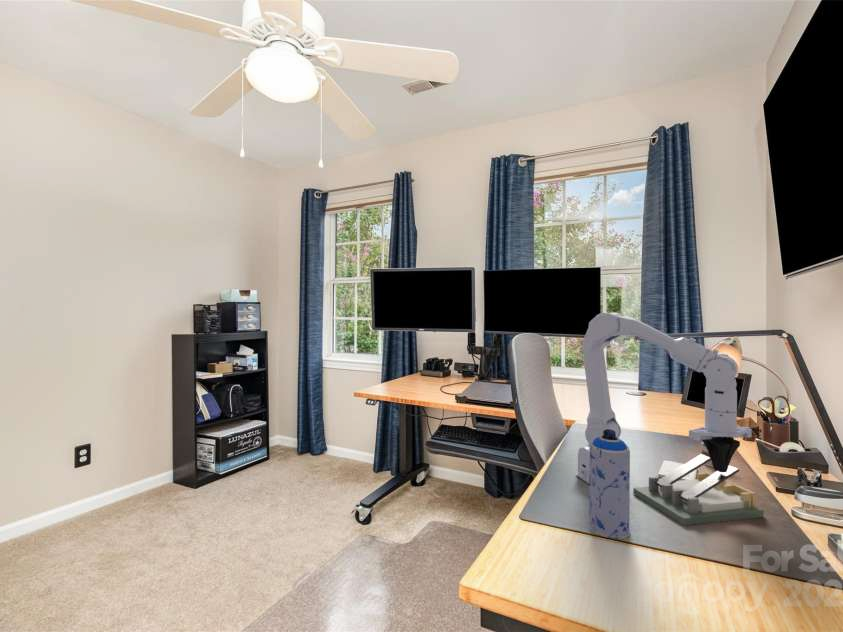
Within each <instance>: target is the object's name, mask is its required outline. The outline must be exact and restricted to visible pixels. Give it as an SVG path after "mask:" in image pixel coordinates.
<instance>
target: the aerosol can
mask: <svg viewBox="0 0 843 632" xmlns="http://www.w3.org/2000/svg"><path fill="white" fill-rule="evenodd" d="M630 472H631V451H630V448H629V446H628V445H627V444H626V443H625V442H624V441H623V440H622V439H620V437H619V438H618V437H616V433H615V431H613V430H610V429H606V430H604V431H603V435H601V436H600V437H597V438H595V439H594V441H592V442H591V444H590V465H589V484H588V485H589V487H588V490H589V492H588V495H589V496H588V499H589V500H588V521H587V525H588V528H589V529H590V530H591V531H592V533H595V534H596V535H598V536H601V537H603V538H608V539H614V540H623V539H626V538H628V537H629V536H631V528H630V497H631V496H630V493H631V492H630V490H631V489H630V488H631V487H630V486H631V484H630V483H631V479H630V478H631V476H630V475H631V473H630Z"/></svg>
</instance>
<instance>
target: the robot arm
mask: <svg viewBox="0 0 843 632" xmlns="http://www.w3.org/2000/svg"><path fill="white" fill-rule="evenodd" d="M621 336H635V337H637V338H639V339H641V340H644V341H646V342H648V343H651V344H653V345H655V346H658V347H659V348H661V349H664V350H666V351H667V353H668V354H669V355H668V356H669V357H670V359H672V360H674V361H676V362H678V363H679V364H682V365H684V366H685V367H687V368H689V369H692V370H694V371H696V372H698V373H703V375H704V376H705V385H706V386H705V388H704V426H702V427H697V428H694V429H689V430H688V439H689V440H692V441H694V442H700V441H701V442H702V441H703V443H704V445H705V446H706V448H707V450H708V452H709V455H710V458H711V461H712V465H713V467H712V468H713V470H714V471H719V472H727V469H728V466H729V465H730V463H731V461H732V458H733V456H734V454H735V452H736V451H737V450H738V449H739V448H740V447H741V441H740V440H737V438H752V432H753V431H752V428H748V427H746V426H738V425H737V423H738V422H737V421H738V419H737V415H738V414H737V411H738V390H737V385H738V383H737V381H736V380H737V379H736V377H737V375H738V371H739V365H738V363H737V361H735V360H734V359H733V358H732V357H730V355H728V354H725V353H719V351H720V350H717V348H716V349H715V348H713V349H710V348H708V347H706V346H704V345H702V344H700V343H697V339H695V338H694V337H689V338H687V337H685V336H683V337H679V338H674V337H672V336H670V335H669V334H666V333H665V332H662V331H660V330H658V329H656V328H654V327H652V326H651V325H649V324H647V323H644V322H642V321H640V320H639V319H636V318H634V317H631V316H629V315H624V314H623V313H620V312H600V313H599V314H597V315H595V317H593V318H592V319H591V320H590V321H589V322H588V328H587V330H586V333H585V335H584V338H583V339H582V342H581V349H582V354H583V355H582V357H583V364H584V365H583V366H584V373H585V380H586V382H585V383H586V388H587V389H586V390H587V397H588V404H589V405H588V406H589V413H588V415H587V417H586V423H587V425H586V429H585V431H584V437H585V439H586V441H587V443H588V444H587V445H585V446H582V447H579V449H578V452H577V472H576V473H575V475H576V476H577V477H578V478H580V479H581V480H582V481H584V482H585V483H587V484H588V485H589V465H590V444H591V442H592V441H594V439H595V438H597V437H600V436H601V435H603V431H604V430H606V429H610V430H613V431H615V433H616V437H618V438H619V439H620V436H621V434H622V429H621V426H620V424H619V422H618V421H617V418H616V413H615V411H614V410H613V409H612V404H611V397H610V389H609V383H608V381H609V380H608V373H607V366H606V359H605V351H604V350H605V348H606V347H607V346H608V345H609V344H610V343H611V342H612V341H613V340H615V339H618V338H619V337H621Z"/></svg>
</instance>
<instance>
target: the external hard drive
mask: <svg viewBox="0 0 843 632" xmlns="http://www.w3.org/2000/svg"><path fill="white" fill-rule="evenodd" d="M661 464H662V465H660V466H661V467H660V469H659V472H658V474H657V477H658V478H659V477H662V478H663V477H664V476H666V475H668V474H669V473H671V472H673V471H674V470H676V469H677V468H679V467H681V466H682V465H684V464H685V463H680V462H676V461H670V460H663V462H662V463H661ZM697 473H698V468H697V469H696V470H694V471H693V472H691V473H689V474H688V475H686V476H685V477H683V478H681V479H680V480H678V481H682V480H693V479H697Z"/></svg>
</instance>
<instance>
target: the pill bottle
mask: <svg viewBox="0 0 843 632" xmlns="http://www.w3.org/2000/svg"><path fill="white" fill-rule="evenodd" d="M701 454H702V455H705V456H707V457H710V455H709V452H708V450H707V448H706V446H705V445H704V443H703V441H702V440H701ZM703 466H708V467H711V468H713V465H712V461H711V460H710V461H709V462H707V463H706V464H704V465H703Z"/></svg>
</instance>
